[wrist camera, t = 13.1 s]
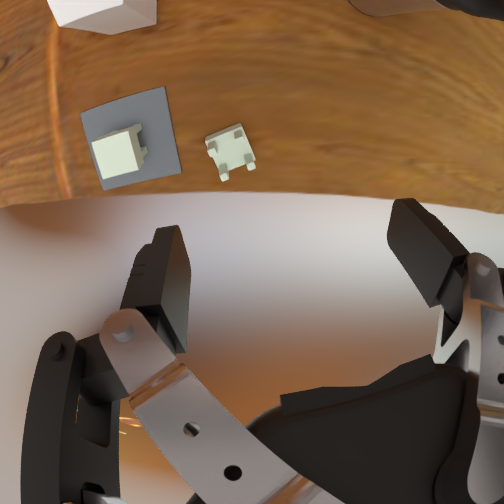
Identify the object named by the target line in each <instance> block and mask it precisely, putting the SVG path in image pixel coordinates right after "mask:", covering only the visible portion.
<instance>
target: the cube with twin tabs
mask: <svg viewBox="0 0 504 504" xmlns="http://www.w3.org/2000/svg"><path fill="white" fill-rule="evenodd" d="M140 130H142V126H141V123H139V124H135V125H133V126H132V127H129V128H125V129H122V130H119V131H118V130H115V131H112V132H111V133H109V134H106V135H103V136H100V137H99V138H97V139H96V140H94V141H93V142H92V146H93V150H94V153H95V156H96V160H97V163H98V166H99V169H100V172H101V175H102V178H103V179H106V178H110V177H113V176H117V175H121V174H124V173H128V172H132V171H136V170H139V169H140V167H141V166H142V164H143V163H144V160H143V157H144V156H145V155H146V154H147V152H148V151H147V147H146V146H144V147H140V145H139V141H138V137H137V133H138V132H139V131H140Z"/></svg>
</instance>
